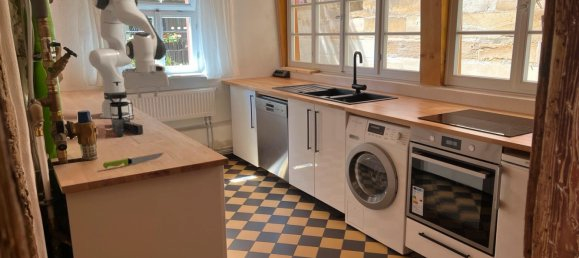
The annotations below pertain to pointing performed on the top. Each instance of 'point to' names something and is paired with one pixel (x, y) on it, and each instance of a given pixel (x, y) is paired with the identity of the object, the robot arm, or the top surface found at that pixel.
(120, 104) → the french press
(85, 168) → the top surface
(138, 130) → the tongs arm
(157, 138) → the top surface
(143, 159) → the kitchen knife
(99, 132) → the lock clip
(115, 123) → the tongs base
